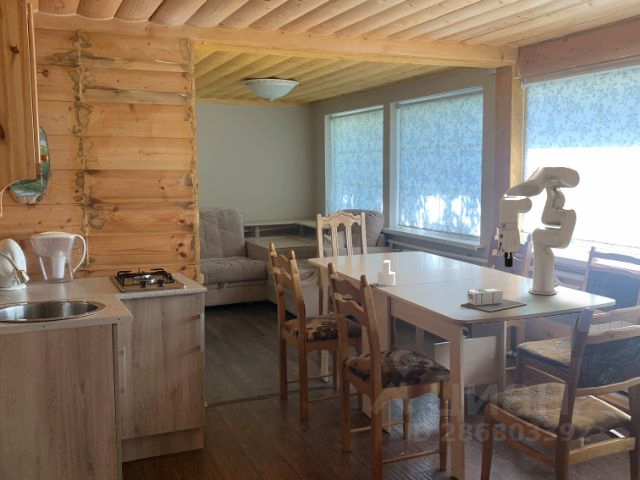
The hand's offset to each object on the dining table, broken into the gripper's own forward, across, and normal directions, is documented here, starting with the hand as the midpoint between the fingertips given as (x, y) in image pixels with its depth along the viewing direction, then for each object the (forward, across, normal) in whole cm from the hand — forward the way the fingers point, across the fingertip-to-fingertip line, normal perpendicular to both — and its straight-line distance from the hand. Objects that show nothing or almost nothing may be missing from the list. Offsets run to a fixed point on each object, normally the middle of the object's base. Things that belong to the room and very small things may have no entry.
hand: (508, 266), depth 285 cm
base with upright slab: (+16, -18, +64) cm, 68 cm away
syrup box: (+12, -6, 0) cm, 14 cm away
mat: (+15, -12, -1) cm, 19 cm away
